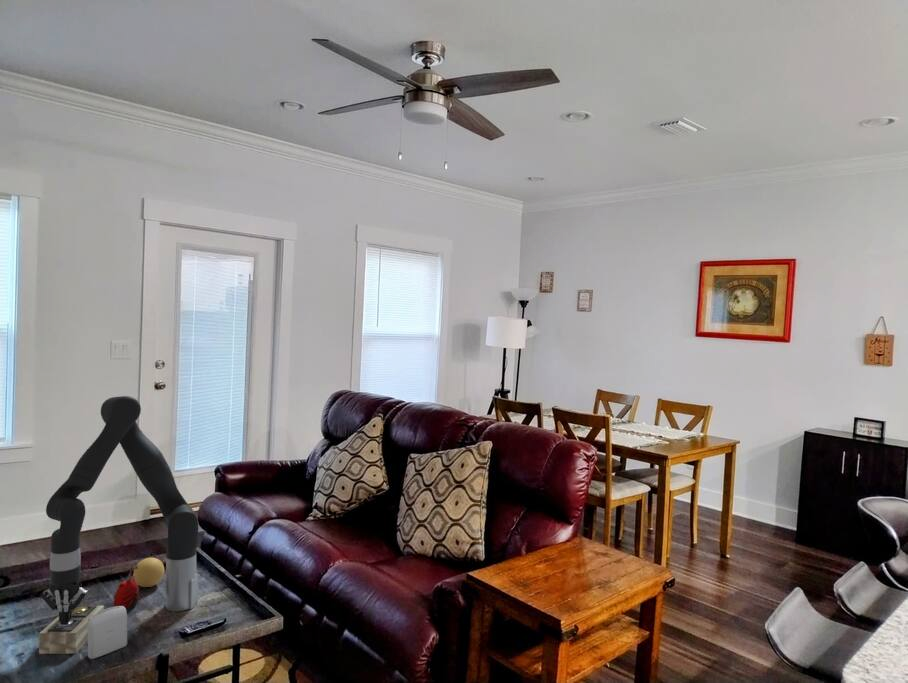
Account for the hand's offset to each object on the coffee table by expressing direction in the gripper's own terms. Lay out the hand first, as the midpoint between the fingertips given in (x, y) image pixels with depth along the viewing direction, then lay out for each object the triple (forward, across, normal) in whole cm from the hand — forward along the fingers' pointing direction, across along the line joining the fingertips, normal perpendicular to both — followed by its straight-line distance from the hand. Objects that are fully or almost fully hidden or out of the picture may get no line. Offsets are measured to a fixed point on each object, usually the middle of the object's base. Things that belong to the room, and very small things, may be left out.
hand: (65, 622), depth 176 cm
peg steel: (+7, 0, 0) cm, 7 cm away
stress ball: (+7, -8, -38) cm, 39 cm away
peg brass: (+7, 0, -8) cm, 10 cm away
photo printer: (+7, -13, +3) cm, 15 cm away
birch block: (+7, 0, -4) cm, 8 cm away
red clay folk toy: (+7, -7, -23) cm, 25 cm away
